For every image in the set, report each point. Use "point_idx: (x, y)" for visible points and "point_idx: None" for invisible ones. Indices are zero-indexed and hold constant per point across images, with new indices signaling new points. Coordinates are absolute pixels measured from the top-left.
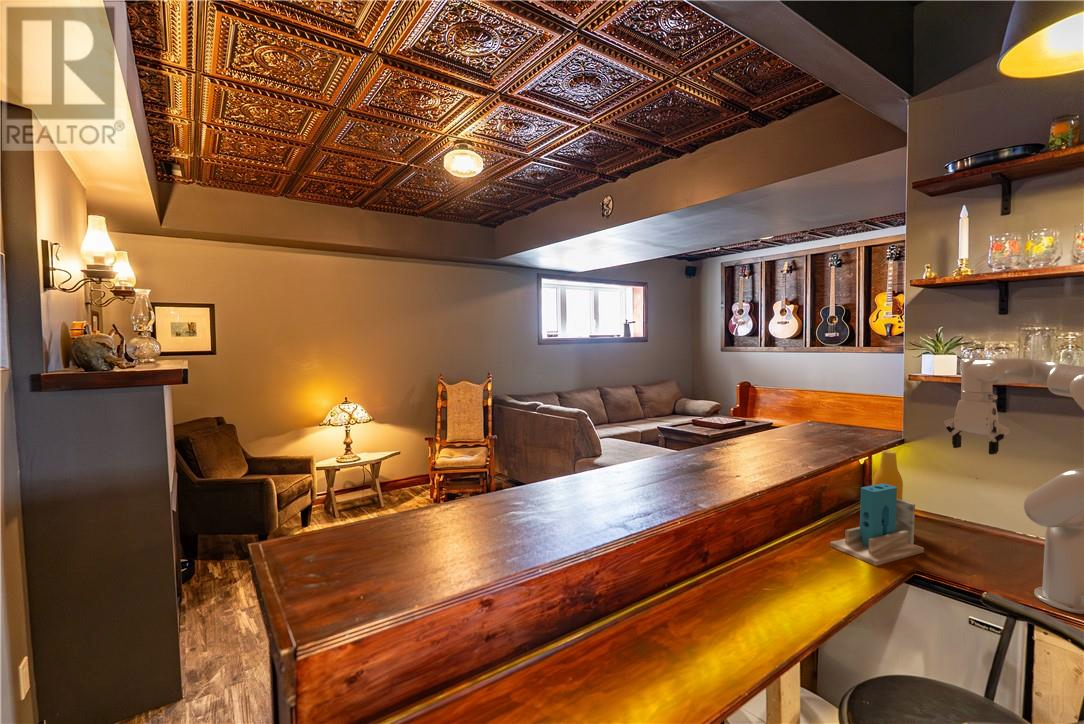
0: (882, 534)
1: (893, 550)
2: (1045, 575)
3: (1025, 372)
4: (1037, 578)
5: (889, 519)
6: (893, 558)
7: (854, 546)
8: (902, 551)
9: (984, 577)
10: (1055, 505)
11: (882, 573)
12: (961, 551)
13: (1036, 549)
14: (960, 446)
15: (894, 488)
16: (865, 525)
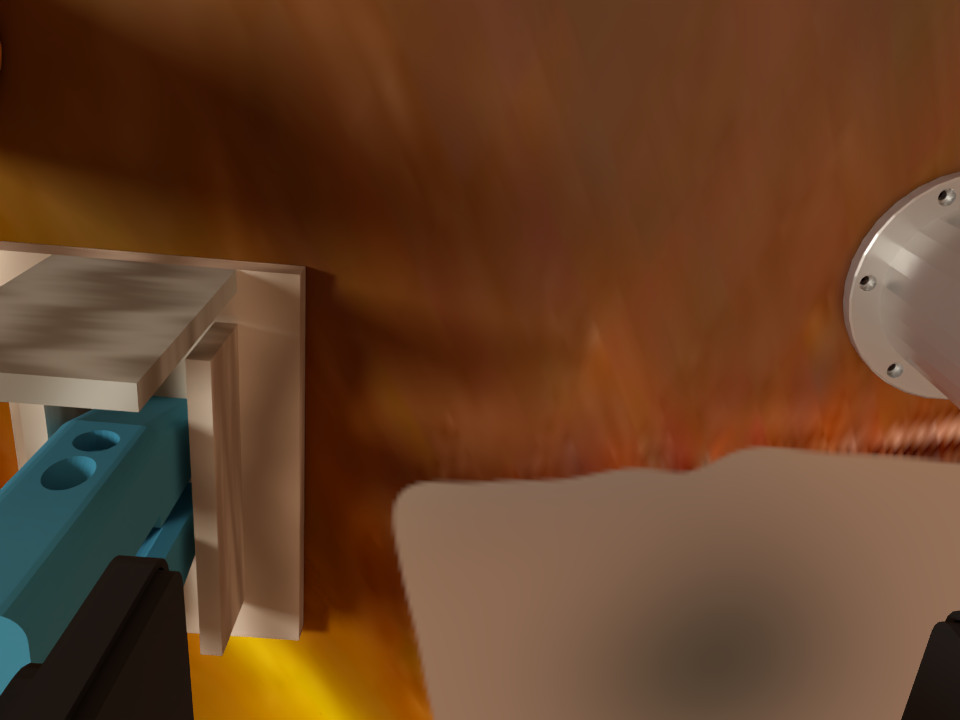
0: (180, 535)
1: (249, 457)
2: (945, 394)
3: None
4: (812, 74)
5: (145, 534)
6: (301, 520)
7: None
8: (278, 429)
9: (634, 321)
10: None
11: (365, 662)
12: (402, 30)
13: None
14: (178, 598)
15: (32, 660)
16: None
